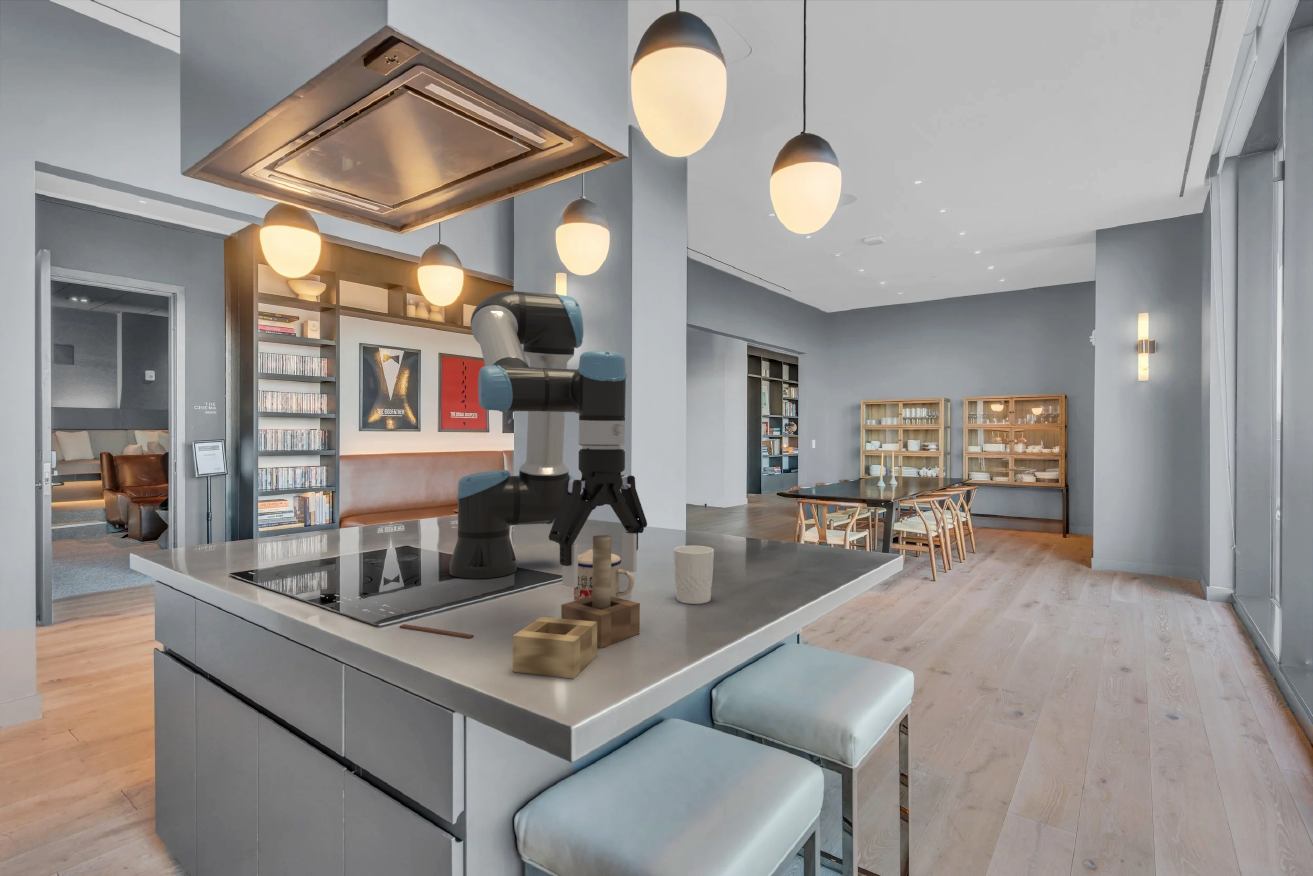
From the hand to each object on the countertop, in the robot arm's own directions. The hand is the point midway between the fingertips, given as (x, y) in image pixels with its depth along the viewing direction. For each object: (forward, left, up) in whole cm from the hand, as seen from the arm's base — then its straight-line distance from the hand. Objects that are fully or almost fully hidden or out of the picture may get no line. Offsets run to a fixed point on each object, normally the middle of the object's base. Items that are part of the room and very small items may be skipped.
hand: (601, 578), depth 102 cm
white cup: (-1, +27, -10) cm, 29 cm away
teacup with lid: (-11, +12, -9) cm, 19 cm away
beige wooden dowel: (0, 0, -9) cm, 9 cm away
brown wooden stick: (-21, -17, -9) cm, 29 cm away
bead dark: (0, 0, -9) cm, 9 cm away
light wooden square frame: (+4, -13, -9) cm, 16 cm away
